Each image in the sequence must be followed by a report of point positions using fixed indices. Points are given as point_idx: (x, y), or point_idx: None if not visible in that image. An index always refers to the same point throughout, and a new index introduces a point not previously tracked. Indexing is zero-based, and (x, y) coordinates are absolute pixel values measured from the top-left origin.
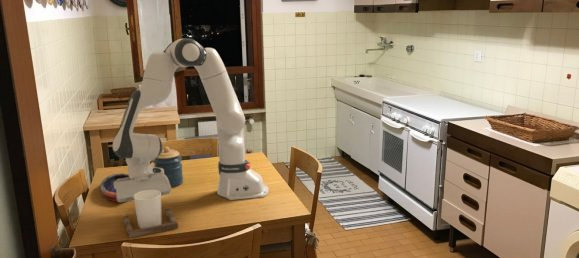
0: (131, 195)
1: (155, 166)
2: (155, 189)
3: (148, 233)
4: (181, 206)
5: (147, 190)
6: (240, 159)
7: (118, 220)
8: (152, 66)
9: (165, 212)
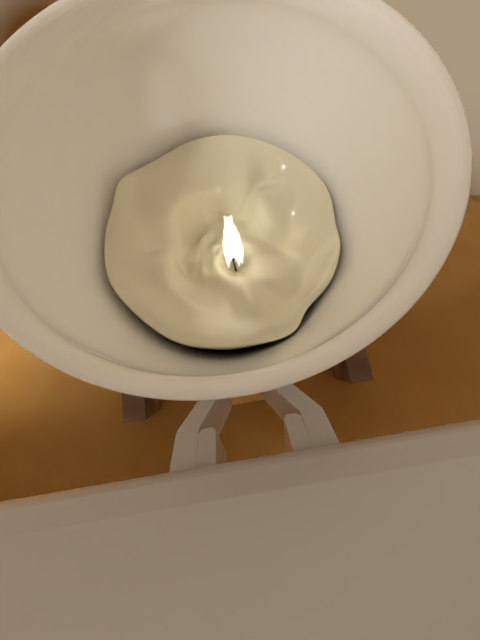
0: (462, 446)
1: None
2: (55, 572)
3: None
4: (68, 481)
5: (188, 376)
6: None
7: (383, 393)
8: None
9: (155, 404)
